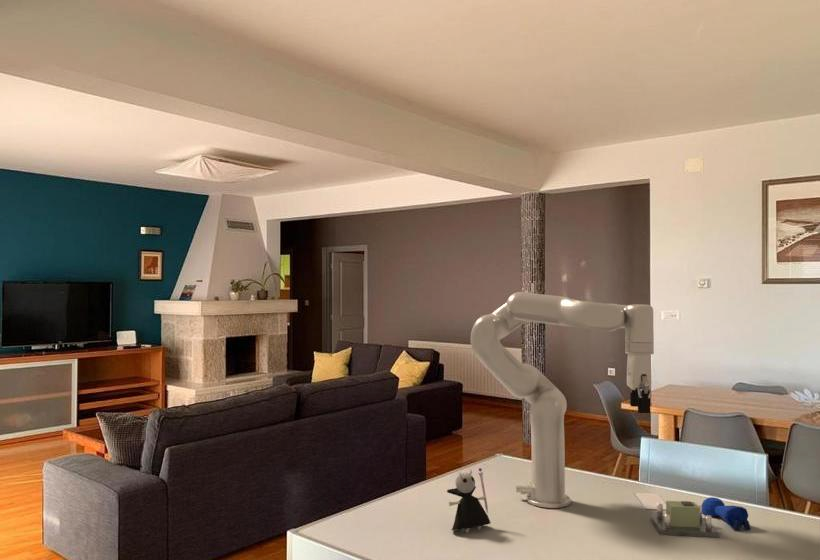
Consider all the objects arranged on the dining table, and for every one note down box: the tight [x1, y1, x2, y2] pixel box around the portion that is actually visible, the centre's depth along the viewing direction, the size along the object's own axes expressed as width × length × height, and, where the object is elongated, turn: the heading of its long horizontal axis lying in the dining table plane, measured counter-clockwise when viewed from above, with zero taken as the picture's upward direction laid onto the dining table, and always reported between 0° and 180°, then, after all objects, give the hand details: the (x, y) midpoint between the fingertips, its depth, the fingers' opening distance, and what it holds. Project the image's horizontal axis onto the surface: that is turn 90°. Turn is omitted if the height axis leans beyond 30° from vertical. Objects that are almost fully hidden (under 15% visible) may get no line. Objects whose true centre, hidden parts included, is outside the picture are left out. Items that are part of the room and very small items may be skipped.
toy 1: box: [446, 467, 492, 533], centre depth 164 cm, size 12×7×15 cm, turn 117°
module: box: [665, 500, 700, 527], centre depth 163 cm, size 7×4×5 cm, turn 82°
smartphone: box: [633, 492, 666, 511], centre depth 184 cm, size 7×1×15 cm
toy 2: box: [700, 496, 752, 532], centre depth 169 cm, size 7×6×15 cm
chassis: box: [650, 504, 720, 538], centre depth 163 cm, size 14×10×5 cm
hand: (640, 409), depth 177 cm, fingers open, 9 cm apart
